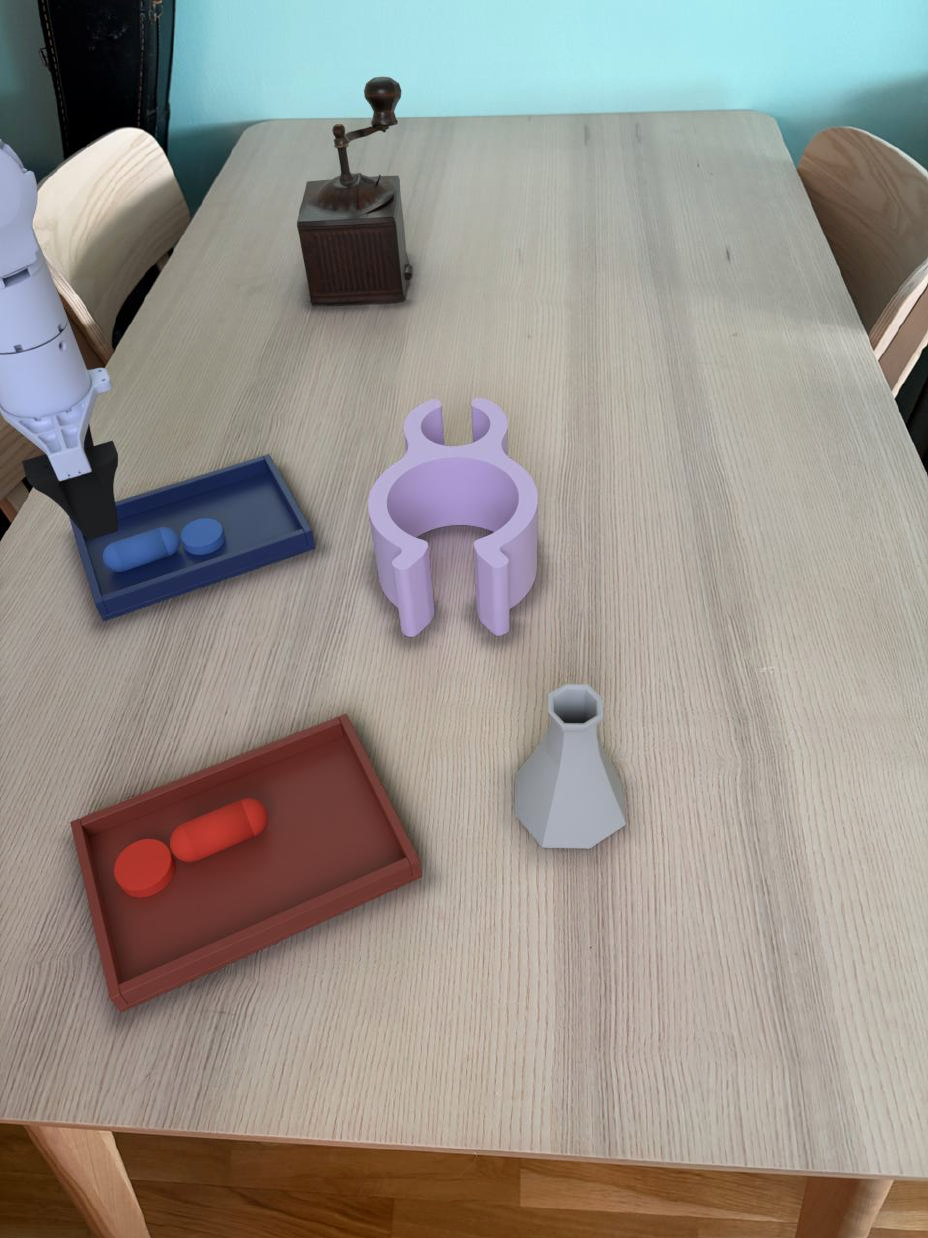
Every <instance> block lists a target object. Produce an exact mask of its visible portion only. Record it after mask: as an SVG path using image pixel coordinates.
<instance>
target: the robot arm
mask: <svg viewBox="0 0 928 1238" xmlns="http://www.w3.org/2000/svg"><path fill="white" fill-rule="evenodd" d="M38 199H39V198H38V184H37V178H36V176H35V173H34V171H32V170H28V169H27V168H25V166H24V164H23V161H22V160H21V159H20V157H19V156H18V154H17V153H16V152H15V150H13V148H12V147H11V146H10V145H9V144H7V143H5V142H4V141H2V139H1V138H0V414H1V416H2V418H3V419H4V421H6V422H7V423H8V424H9V425H10V426H12V427H13V428H14V429H15V430H17V431H18V432H19V433H20V434H22V435H23V436H24V437H25V438H26V439H27V440H29V441H30V442H31V443H32V444H34V445H35V446H36V447H37V448H38V449H40V450H41V451H42V452H43V453H44V454H41V455H38V456H35V457H31V458H27V459H24V460H22V461H21V464H22V467H23V472H24V475H25V477H26V480H27V482H28V483H29V484H30V486H32V488H34V490H35V491H37V492H39V493H41V494H43V495H45V496H47V497H48V498H49V499H50V500H52V501H53V502H55V503H56V504H57V505H58V506H59V507H60V508H61V509H62V510H63V511H64V512H65V514H66V515H67V516H68V518H69V517H70V518H71V520H72V521H73V522H74V524H75V525H76V526H77V527H78V529H79V530H80V531H81V532H82V533H83V534H84V535H85V536H86V537H87V538H88V539H89V540H92V539H95V538H98V537H101V536H105V535H108V534H111V533H114V532H117V531H118V517H117V510H116V505H115V502H116V499H115V491H114V487H115V485H114V484H115V477H116V472H117V469H118V466H119V453H118V450H117V447H116V445H115V442H114V440H109V441H106V442H103V443H98V444H94V440H93V435H92V430H91V425H90V424H91V423H90V421H91V419H92V414H93V411H94V407H95V404H96V401H97V397H98V396H99V395H100V394H105V393H107V392H109V391H111V390H112V389H113V383H112V381H111V377H110V375H109V372H108V370H107V369H106V367H105V368H104V367H97V368H93V369H87V365H86V363H85V361H84V358H83V355H82V352H81V350H80V348H79V345H78V342H77V340H76V338H75V334H74V331H73V330H72V329H73V328H72V327H71V324H70V321H69V319H68V315H67V313H66V310H65V308H64V305H63V302H62V300H61V298H60V297H61V296H60V294H59V292H58V289H57V286H56V283H55V280H54V278H53V275H52V273H51V271H50V268H49V266H48V263H47V260H46V257H45V255H44V253H43V249H42V247H41V245H40V243H39V241H38V238H37V235H36V232H35V230H34V228H33V224H34V217H35V214H36V211H37V207H38Z"/></svg>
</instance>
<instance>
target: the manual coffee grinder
mask: <svg viewBox="0 0 928 1238" xmlns="http://www.w3.org/2000/svg"><path fill="white" fill-rule="evenodd" d="M364 85H365V86H364V89H363V94H364V99H365V100H366V101H367V103H368V104H369V106H370V108H371V110H372V112H373V114H372V118H371V122H370V125H371V126H368V127H365V128H360V129H356V130H351V131H348V132H347V133H346V127H345V125H344V124H342V123H336V124H334V125H333V126H332V130H331V131H332V135H333V136H334V138H333V143H334V145H333V147H334V148H335V149H337V155H338V160H339V161H338V162H339V168H340V174H339V175H337V176H335V177H333V178H329V179H320V180H308V181H306V184H305V188H304V192H303V196H302V201H301V204H300V207H299V211H298V216H297V220H296V228H297V232H298V236H299V237H298V238H299V243H300V249H301V254H302V259H303V264H304V269H305V276H306V280H307V286H308V287H307V288H308V292H309V300H310V305H311V306H320V307H321V306H325V307H327V306H328V307H331V306H351V305H352V306H353V305H373V304H376V305H377V304H393V303H394V304H395V303H400V302H404V301H406V299H407V293H408V288H409V284H410V280H411V279H412V277H413V275H414V274H413V265H412V264H410V261H409V257H408V252H407V243H406V232H405V231H406V230H405V221H404V212H403V204H402V203H403V202H402V195H401V194H402V193H401V180H400V176H399V175H381V174H378V175H377V176H376V175H375V176H374V175H373V176H368V175H364V174H363V173H362V172H357V173H352V172H351V170H350V163H349V157H348V151H347V150H348V149H347V148H348V147H349V144H350V143H352V142H353V141H355V140H358V139H362V138H366V137H368V136H371V135H373V134H375V133H377V132H382V133H386V132H387V131H388V130H389V129H390V127H392V126H396V125H398V124H399V121H398V119H397V117H396V113H395V111H396V108H397V106H398V103H399V102H400V100H401V98H402V88H401V85H400V83H399V82H398V81H396V80H394V79H393V78H391V77H390V76H376V77H373V78H371V79H369V81H367V82H366V83H365V84H364Z"/></svg>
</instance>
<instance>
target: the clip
mask: <svg viewBox="0 0 928 1238" xmlns="http://www.w3.org/2000/svg"><path fill="white" fill-rule="evenodd" d="M470 407H471V409H470V410H471V429H472V442H471V443H468V444H462V445H445V435H444V420H443V405H442V402H441V401H440V400H439V399H437V398H431V399H428V400H426V401H424V402H422V403H420V404H418V405H417V406H416V407H414V408H413V409H412V410H411V411H409V413H408V415H407V416H406V418H405V419H404V422H403V428H402V429H403V439H404V447H405V454H404V455H403V456H402V458H400V460H398V461H397V462H395V463H393V464H391V466H389V467H388V468H387V469H386V470H384V471H383V472H382V473H381V474H380V476H379V477H378V478H377V479H376V480H375V482H374V483H373V484H372V487H371V489H370V492H369V493H368V494H369V495H368V499H367V511H368V517H369V518H368V519H369V525H370V530H371V531H370V532H371V537H372V543H373V544H372V545H373V552H374V557H375V564H376V569H377V576H378V581H379V585H380V588H381V590H382V592H383V594H384V595H385V597H386V598H387V599H388V601H390V602H391V604H392V605H393V606H395V608H397V610H398V616H399V617H398V618H399V625H400V631H401V634H403V635H404V636H405V637H408V638H413V637H414V638H415V637H416V636H418V635H419V634H420V633H421V632H422V631H423V630H424V629H426V628H427V626H428V625H430V624H431V622H432V620H433V618H434V616H435V613H436V609H435V601H434V600H435V599H434V590H433V580H432V570H431V560H430V559H431V558H430V548H429V543H428V541H426V540H424V539H421V538H418V537H420V536H422V535H423V534H425V533H428V532H429V531H432V530H436V529H439V528H445V527H449V526H450V527H451V526H471V527H477V528H480V529H485V530H488V531H490V532H492V533H491V534H488V535H486V536H483V537H481V538H478V539H476V540H474V542H473V558H474V559H473V560H474V577H475V579H474V580H475V581H474V582H475V595H476V596H475V598H476V599H475V600H476V614H477V616H478V619H479V621H480V623H482V625H483V626H485V627H486V629H488V630H489V631H490V632H491V634H493V635H495V636H497V637H500V636H504V635H505V634H507V633H509V632H510V629H511V626H510V625H511V620H510V618H511V617H510V615H511V614H510V613H511V612H510V610H512V608H514V607H515V606H517V605H518V604H519V603H520V602H521V601H522V600H523V599H525V597H526V596H527V595H528V593H529V592H530V591H531V588H532V587H533V585H534V583H535V579H536V577H537V571H538V528H539V527H538V522H539V521H538V519H539V516H538V515H539V514H538V513H539V494H538V489H537V486H536V483H535V481H534V479H533V477H532V476H531V475H530V473H529V472H528V471H527V470H526V469H525V468H524V467H523V466H521V465H520V464H519V463H518V462H517V461H515V460H513V459H512V458H510V457H509V422H508V418H507V415H506V413H505V412H504V410H503V409H502V408H501V407H500V406H498V405H497V404H496V403H494V402H492V401H491V400H489V399H486V398H484V397H475V398H474V399H473V400H471V403H470Z"/></svg>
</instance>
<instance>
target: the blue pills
mask: <svg viewBox="0 0 928 1238" xmlns="http://www.w3.org/2000/svg"><path fill="white" fill-rule="evenodd" d="M180 538H181V541H182V544H183V547H184V549H185V550H186V551H187V552H189V553H191V554H194V555H205V554H209V553H212V552H214V551H216V550H217V549H219V548H220V547H221V546H222V545H223V543H224V541H225V534H224V530H223V527H222V525H221V524H220V523H219V522H218V521H216V520H214V519H210V518H203V519H198V520H195V521H192V522H190V523H189V524H187V525H186V526H185V527H184V528H183V529H182V531H181V535H180ZM179 545H180V540H179V536H178V534H177V533H176V532H175V531H174V530H172V529H171V528H168V527H160V528H156V529H153V530H150V531H147V532H144V533H141V534H138V535H134V536H131V537H128V538H125V539H122V540H119V541H116V542H113V543H111V544H109V545H108V546H107V547H106V548H105V550H104V552H103V561H104V563H105V565H106V566H107V567H108V568H109V569H110V570H112V571H115V572H123V571H127V570H130V569H133V568H136V567H139V566H142V565H145V564H148V563H151V562H154V561H157V560H160V559H163V558H166V557H169V556H171V555H173V554H175V553H176V551H177V550H178V548H179Z"/></svg>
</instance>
